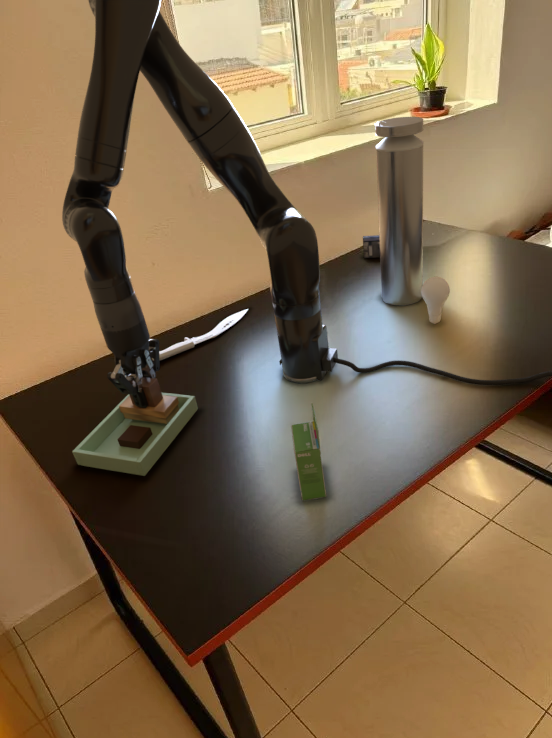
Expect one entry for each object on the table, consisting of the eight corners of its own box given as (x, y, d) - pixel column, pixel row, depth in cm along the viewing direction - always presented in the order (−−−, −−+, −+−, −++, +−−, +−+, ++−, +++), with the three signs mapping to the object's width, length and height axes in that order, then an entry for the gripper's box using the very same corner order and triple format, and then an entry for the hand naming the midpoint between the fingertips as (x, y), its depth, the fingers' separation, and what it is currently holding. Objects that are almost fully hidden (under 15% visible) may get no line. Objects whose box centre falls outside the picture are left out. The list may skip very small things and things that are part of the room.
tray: (198, 410, 112) (194, 395, 110) (145, 478, 97) (139, 462, 95) (138, 403, 117) (133, 389, 115) (78, 467, 102) (71, 451, 100)
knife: (247, 305, 147) (264, 314, 142) (248, 311, 148) (265, 320, 142) (139, 346, 133) (153, 357, 128) (141, 352, 134) (155, 363, 129)
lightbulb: (418, 328, 128) (418, 282, 122) (424, 316, 133) (424, 271, 127) (445, 330, 126) (447, 284, 120) (451, 317, 131) (452, 272, 124)
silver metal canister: (429, 291, 143) (431, 116, 121) (412, 308, 137) (411, 126, 114) (392, 285, 149) (387, 117, 126) (374, 302, 142) (366, 127, 119)
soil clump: (152, 434, 106) (150, 427, 105) (140, 449, 103) (137, 442, 102) (132, 431, 108) (130, 424, 107) (119, 446, 104) (117, 439, 104)
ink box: (298, 471, 94) (287, 405, 86) (321, 468, 94) (313, 401, 86) (301, 501, 88) (290, 433, 81) (327, 498, 88) (318, 429, 81)
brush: (181, 409, 110) (171, 376, 106) (167, 425, 106) (157, 391, 102) (137, 403, 113) (126, 372, 109) (123, 418, 109) (111, 386, 105)
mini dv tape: (363, 258, 167) (362, 237, 163) (364, 256, 168) (363, 236, 164) (392, 256, 165) (391, 236, 161) (392, 254, 166) (392, 234, 163)
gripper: (116, 340, 92) (145, 425, 101) (161, 302, 102) (183, 382, 112) (78, 337, 94) (110, 421, 104) (126, 300, 105) (150, 379, 115)
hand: (148, 400), depth 108 cm, fingers closed on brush, 3 cm apart
